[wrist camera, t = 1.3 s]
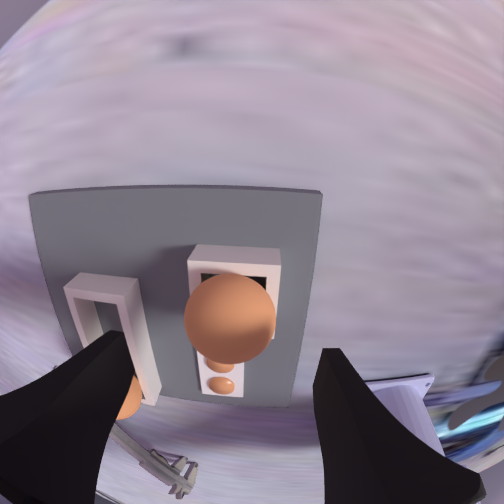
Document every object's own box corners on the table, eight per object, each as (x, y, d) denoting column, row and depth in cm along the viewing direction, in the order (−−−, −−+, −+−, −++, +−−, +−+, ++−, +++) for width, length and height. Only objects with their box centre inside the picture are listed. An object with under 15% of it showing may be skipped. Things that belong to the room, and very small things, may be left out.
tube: (273, 316, 16) (274, 338, 14) (200, 311, 16) (193, 333, 14) (279, 248, 14) (281, 265, 12) (197, 244, 14) (187, 260, 13)
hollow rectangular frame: (161, 386, 19) (154, 405, 17) (112, 376, 19) (103, 393, 17) (138, 278, 15) (123, 295, 14) (80, 272, 16) (63, 287, 14)
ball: (272, 329, 15) (272, 385, 11) (197, 324, 15) (179, 377, 11) (278, 260, 13) (281, 309, 9) (193, 256, 13) (167, 301, 10)
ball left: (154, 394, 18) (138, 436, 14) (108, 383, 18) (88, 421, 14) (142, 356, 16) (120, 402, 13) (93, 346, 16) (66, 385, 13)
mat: (287, 397, 20) (288, 407, 19) (86, 368, 21) (82, 375, 20) (319, 190, 14) (322, 194, 13) (37, 191, 15) (28, 195, 14)
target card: (243, 394, 19) (242, 399, 18) (202, 390, 19) (201, 395, 18) (244, 346, 17) (244, 351, 16) (197, 341, 17) (195, 347, 16)
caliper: (199, 461, 27) (192, 502, 21) (194, 462, 27) (186, 502, 22) (57, 363, 22) (28, 405, 16) (55, 367, 22) (27, 407, 16)
